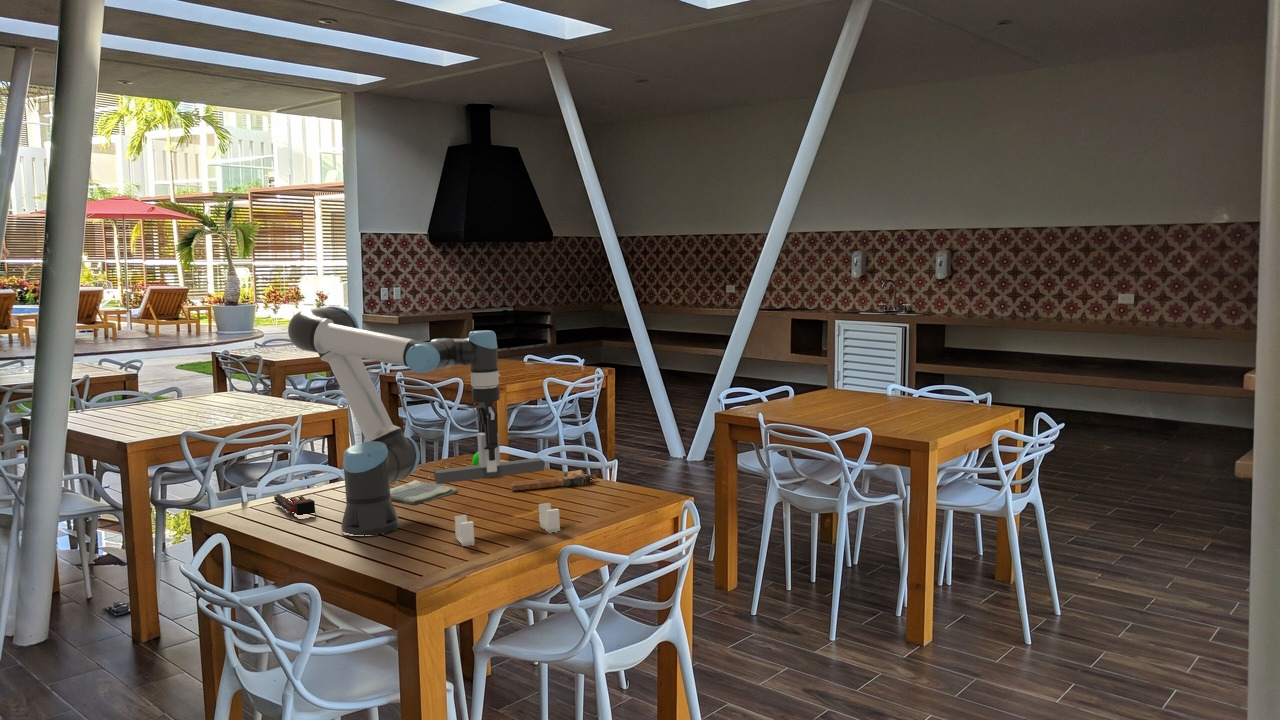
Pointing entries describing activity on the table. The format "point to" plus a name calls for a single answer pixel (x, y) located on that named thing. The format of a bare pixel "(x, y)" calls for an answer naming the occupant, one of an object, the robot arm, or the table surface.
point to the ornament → (476, 459)
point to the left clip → (464, 530)
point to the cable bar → (481, 469)
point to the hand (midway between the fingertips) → (489, 469)
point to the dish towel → (419, 492)
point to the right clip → (549, 518)
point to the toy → (296, 504)
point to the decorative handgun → (555, 481)
